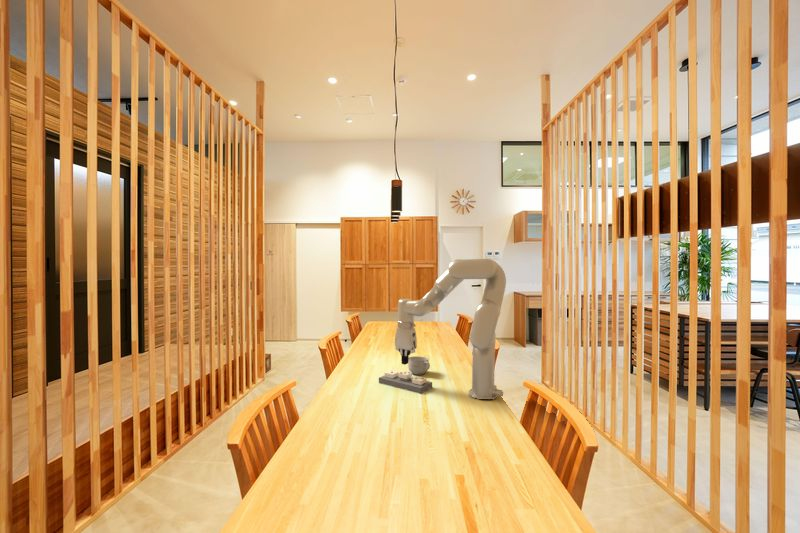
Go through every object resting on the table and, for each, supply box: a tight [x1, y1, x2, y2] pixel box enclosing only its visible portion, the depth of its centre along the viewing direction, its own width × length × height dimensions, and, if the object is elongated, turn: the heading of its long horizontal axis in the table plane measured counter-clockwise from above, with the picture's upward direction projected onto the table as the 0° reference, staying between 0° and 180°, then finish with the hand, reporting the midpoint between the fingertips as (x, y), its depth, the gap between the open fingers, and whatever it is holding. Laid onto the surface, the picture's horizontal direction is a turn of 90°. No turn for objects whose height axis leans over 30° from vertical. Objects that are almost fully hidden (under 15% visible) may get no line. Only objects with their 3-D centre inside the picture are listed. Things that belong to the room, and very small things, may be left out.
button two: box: [412, 376, 427, 385], centre depth 170 cm, size 5×5×4 cm
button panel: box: [378, 374, 433, 395], centre depth 175 cm, size 24×10×2 cm, turn 54°
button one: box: [384, 370, 400, 379], centre depth 179 cm, size 5×5×4 cm
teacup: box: [407, 355, 431, 376], centre depth 192 cm, size 14×11×8 cm
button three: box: [398, 370, 413, 382], centre depth 175 cm, size 5×5×4 cm
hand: (404, 363), depth 175 cm, fingers closed
